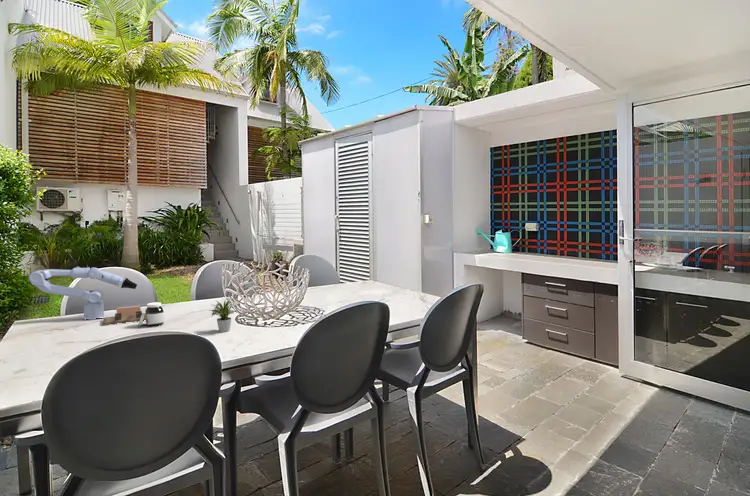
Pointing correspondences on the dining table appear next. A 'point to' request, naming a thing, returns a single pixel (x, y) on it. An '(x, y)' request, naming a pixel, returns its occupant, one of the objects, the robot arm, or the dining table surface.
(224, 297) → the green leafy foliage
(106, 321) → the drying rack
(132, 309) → the orange brown rectangular block
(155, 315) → the spread jar
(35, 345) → the dining table surface
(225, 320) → the house plant
